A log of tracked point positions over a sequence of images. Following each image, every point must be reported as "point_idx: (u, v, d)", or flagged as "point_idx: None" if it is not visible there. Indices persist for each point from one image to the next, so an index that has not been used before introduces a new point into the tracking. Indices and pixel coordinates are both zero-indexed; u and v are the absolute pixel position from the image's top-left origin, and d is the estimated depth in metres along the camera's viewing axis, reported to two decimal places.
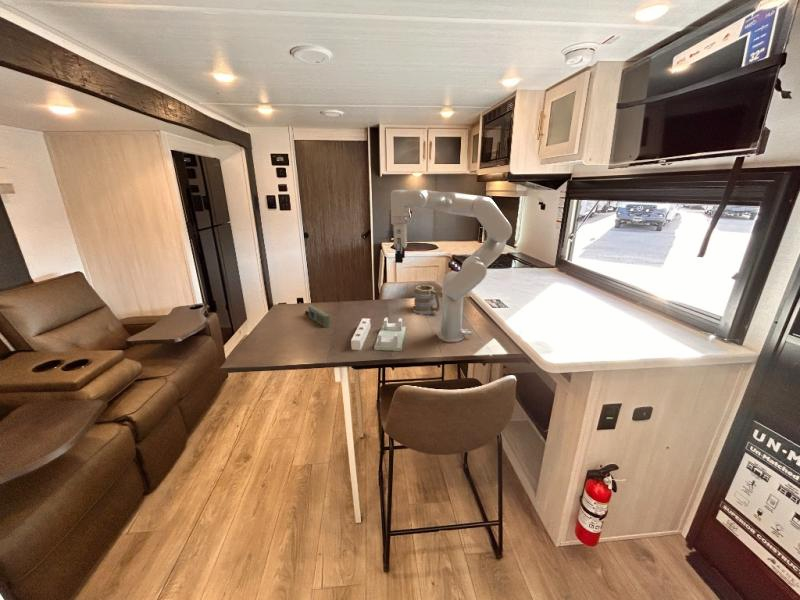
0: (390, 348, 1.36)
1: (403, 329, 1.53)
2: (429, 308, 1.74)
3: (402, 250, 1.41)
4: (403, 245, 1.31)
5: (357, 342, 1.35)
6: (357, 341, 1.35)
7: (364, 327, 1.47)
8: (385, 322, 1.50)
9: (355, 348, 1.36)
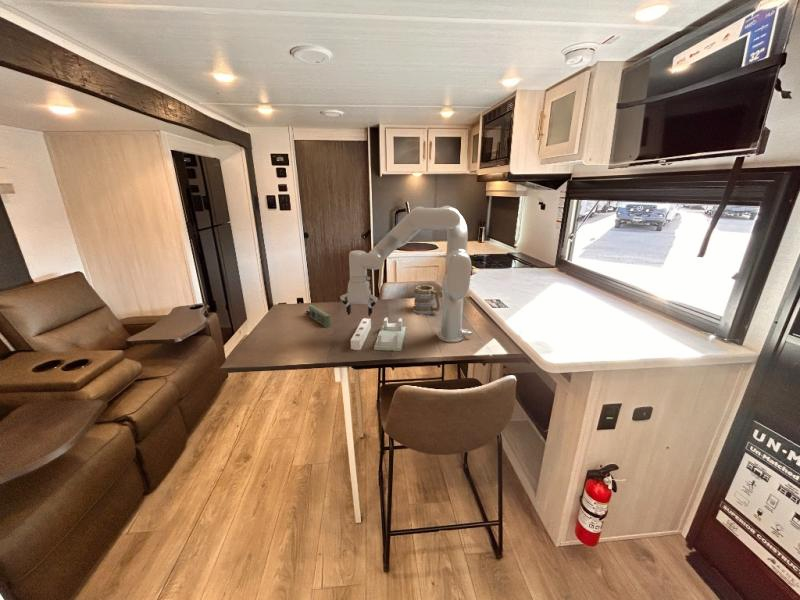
0: (390, 348, 1.36)
1: (403, 329, 1.53)
2: (429, 308, 1.74)
3: (350, 306, 1.44)
4: (370, 298, 1.42)
5: (356, 342, 1.35)
6: (356, 341, 1.35)
7: (364, 327, 1.47)
8: (385, 322, 1.50)
9: (354, 348, 1.36)
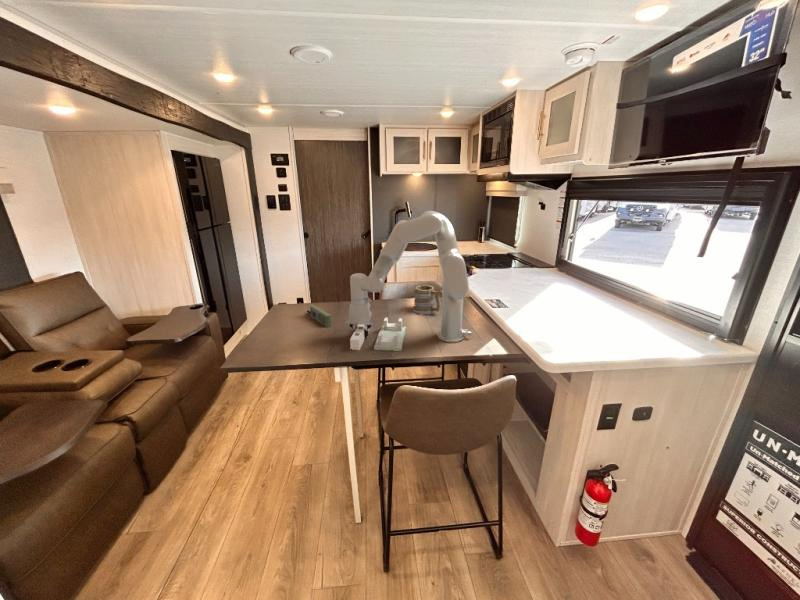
0: (390, 348, 1.36)
1: (403, 329, 1.53)
2: (429, 308, 1.74)
3: None
4: None
5: (356, 342, 1.35)
6: (355, 341, 1.35)
7: (363, 326, 1.47)
8: (385, 322, 1.50)
9: (354, 347, 1.36)
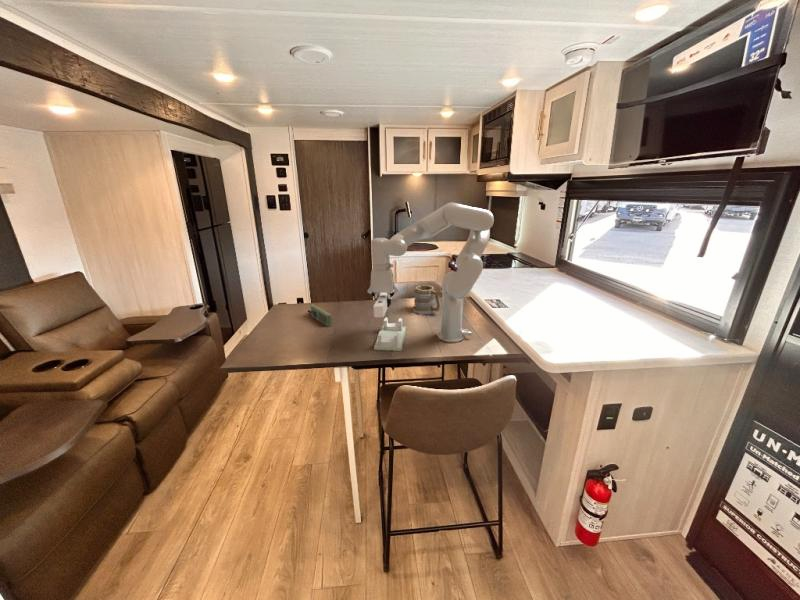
0: (390, 348, 1.36)
1: (403, 329, 1.53)
2: (429, 308, 1.74)
3: None
4: None
5: (379, 308, 1.29)
6: (379, 307, 1.29)
7: (386, 295, 1.41)
8: (385, 322, 1.50)
9: (378, 315, 1.30)
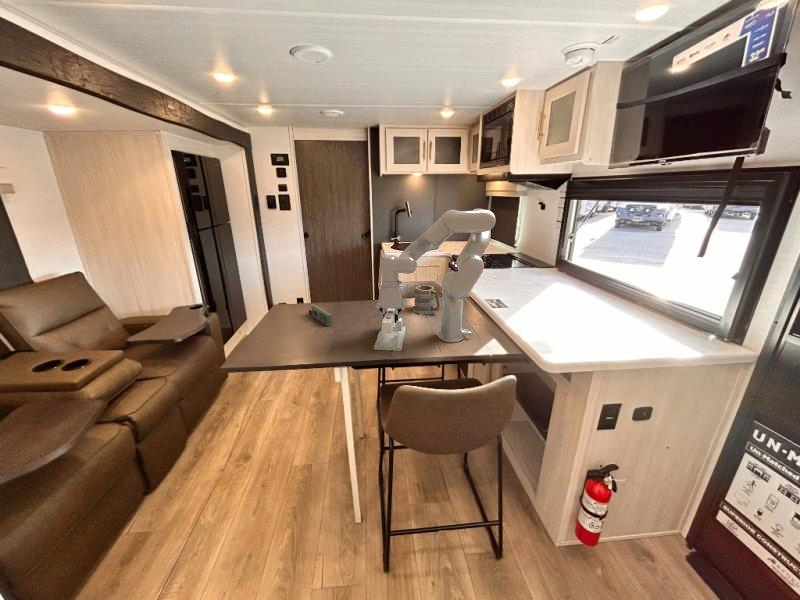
0: (390, 348, 1.36)
1: (403, 329, 1.53)
2: (429, 308, 1.74)
3: None
4: None
5: (388, 325, 1.31)
6: (388, 324, 1.31)
7: (393, 311, 1.43)
8: None
9: (386, 331, 1.32)
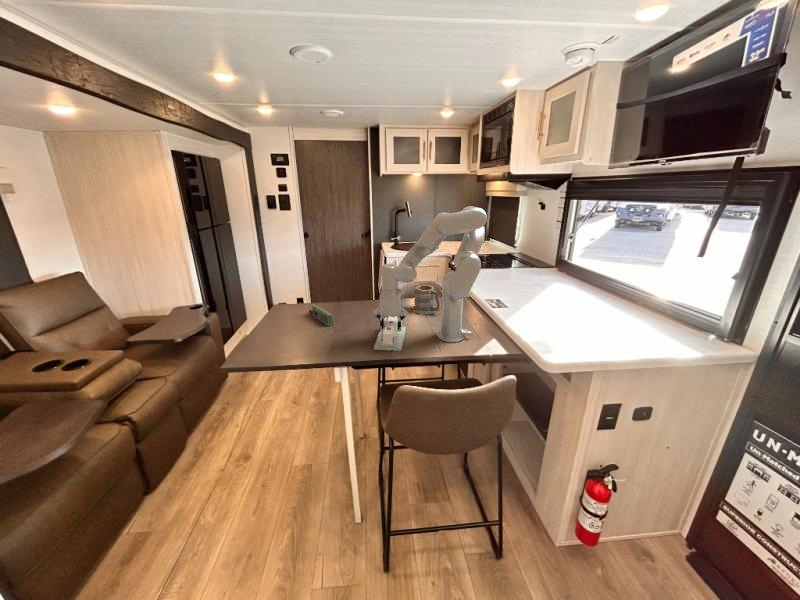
0: (390, 348, 1.36)
1: (403, 329, 1.53)
2: (429, 308, 1.74)
3: (383, 320, 1.44)
4: None
5: (388, 336, 1.32)
6: (388, 335, 1.32)
7: (394, 321, 1.44)
8: (385, 322, 1.50)
9: (386, 342, 1.33)
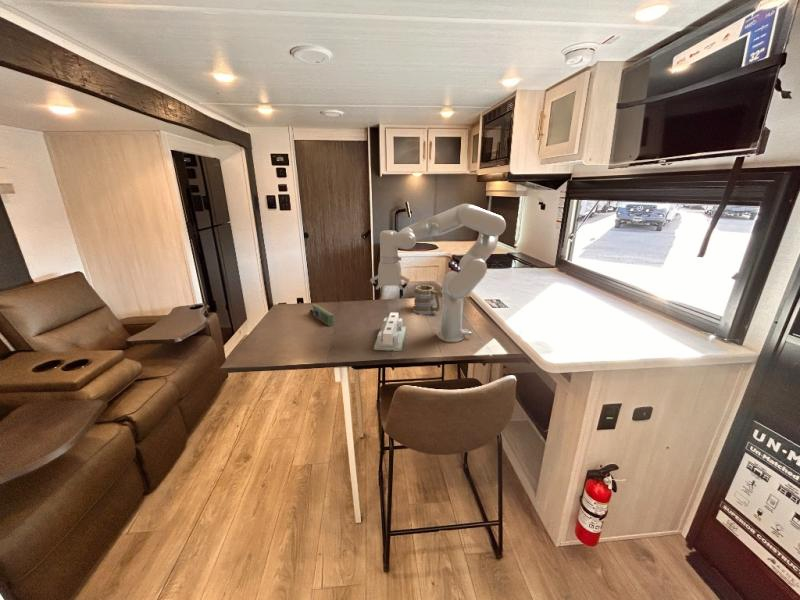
0: (390, 348, 1.36)
1: (403, 329, 1.53)
2: (429, 308, 1.74)
3: (380, 289, 1.40)
4: None
5: (388, 336, 1.32)
6: (388, 335, 1.32)
7: (394, 321, 1.44)
8: (385, 322, 1.50)
9: (386, 342, 1.33)
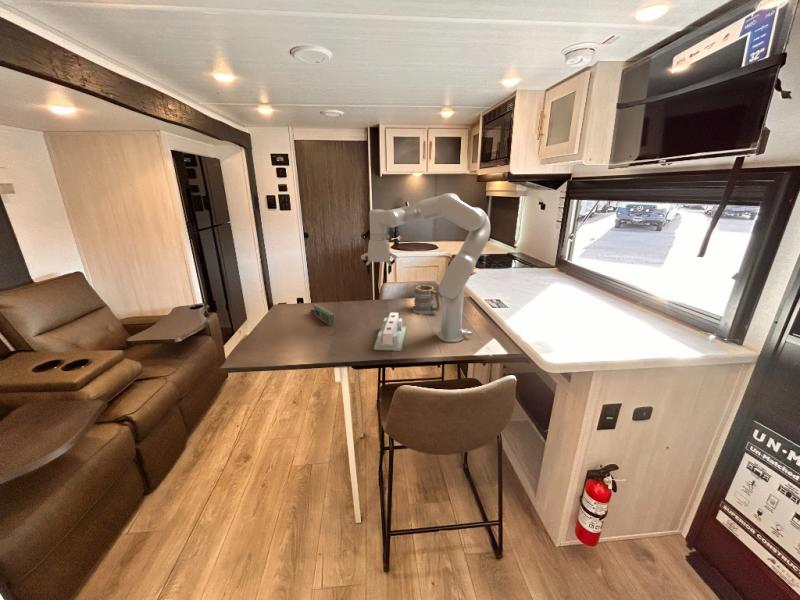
0: (390, 348, 1.36)
1: (403, 329, 1.53)
2: (429, 308, 1.74)
3: (370, 265, 1.49)
4: None
5: (388, 336, 1.32)
6: (388, 335, 1.32)
7: (394, 321, 1.44)
8: (385, 322, 1.50)
9: (386, 342, 1.33)
